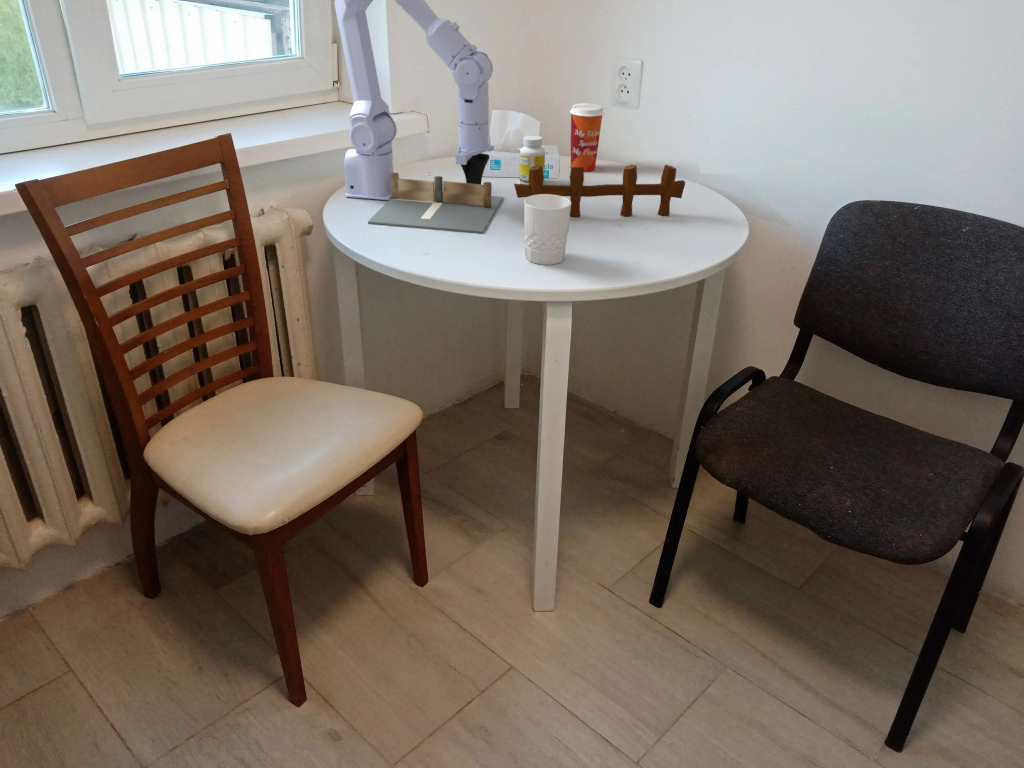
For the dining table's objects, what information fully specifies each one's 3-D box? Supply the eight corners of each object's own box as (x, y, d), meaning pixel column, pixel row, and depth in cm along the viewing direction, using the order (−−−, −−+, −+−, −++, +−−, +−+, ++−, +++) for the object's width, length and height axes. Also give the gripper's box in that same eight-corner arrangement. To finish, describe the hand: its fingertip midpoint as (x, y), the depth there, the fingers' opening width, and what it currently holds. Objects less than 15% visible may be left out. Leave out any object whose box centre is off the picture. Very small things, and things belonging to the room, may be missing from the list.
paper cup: (571, 174, 180) (576, 110, 173) (562, 164, 187) (565, 103, 180) (604, 172, 182) (609, 109, 175) (593, 163, 188) (598, 102, 181)
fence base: (390, 199, 160) (389, 174, 158) (393, 196, 162) (392, 172, 159) (441, 203, 159) (441, 178, 156) (443, 200, 160) (443, 176, 158)
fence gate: (442, 202, 159) (442, 179, 156) (445, 200, 160) (444, 177, 158) (490, 207, 157) (490, 184, 155) (492, 205, 158) (492, 182, 156)
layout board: (368, 223, 149) (367, 221, 149) (400, 190, 167) (400, 188, 167) (482, 233, 146) (482, 231, 146) (503, 198, 164) (503, 196, 164)
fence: (514, 219, 154) (515, 168, 148) (512, 214, 156) (513, 164, 151) (681, 217, 157) (688, 167, 152) (677, 212, 160) (684, 163, 155)
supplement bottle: (544, 180, 176) (546, 135, 171) (542, 187, 171) (545, 141, 166) (520, 178, 176) (521, 133, 171) (518, 185, 172) (519, 140, 167)
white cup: (520, 249, 140) (521, 194, 135) (564, 249, 141) (567, 194, 135) (524, 266, 133) (526, 209, 128) (570, 266, 134) (574, 209, 129)
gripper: (480, 132, 144) (480, 204, 151) (505, 115, 156) (504, 183, 163) (444, 128, 146) (446, 200, 153) (471, 112, 158) (471, 179, 165)
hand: (473, 191), depth 158 cm, fingers closed, pressing on fence gate
